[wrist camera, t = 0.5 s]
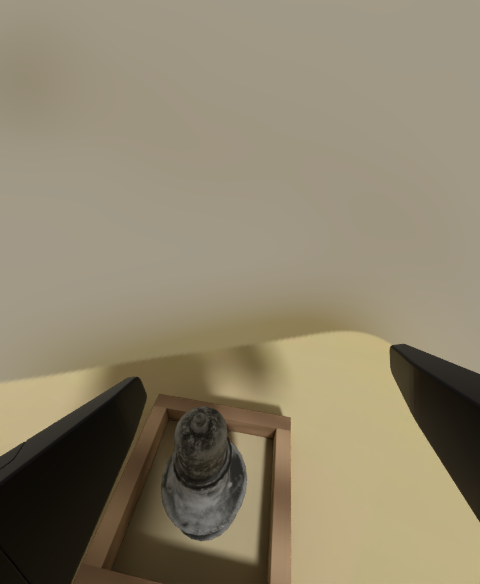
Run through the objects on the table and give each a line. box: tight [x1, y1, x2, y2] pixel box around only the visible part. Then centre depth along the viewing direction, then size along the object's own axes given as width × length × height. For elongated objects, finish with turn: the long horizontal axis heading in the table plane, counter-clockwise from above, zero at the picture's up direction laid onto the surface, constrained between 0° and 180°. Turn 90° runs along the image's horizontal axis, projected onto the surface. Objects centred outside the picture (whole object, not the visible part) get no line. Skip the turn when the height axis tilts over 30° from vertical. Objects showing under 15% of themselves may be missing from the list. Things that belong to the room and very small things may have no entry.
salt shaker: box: [161, 406, 247, 541], centre depth 16 cm, size 6×6×12 cm
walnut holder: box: [73, 394, 291, 584], centre depth 19 cm, size 12×12×2 cm
